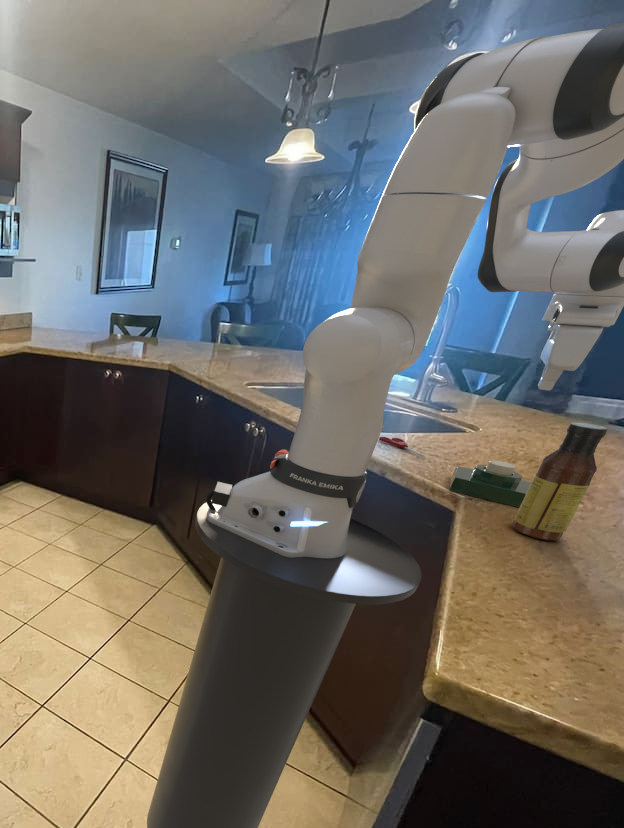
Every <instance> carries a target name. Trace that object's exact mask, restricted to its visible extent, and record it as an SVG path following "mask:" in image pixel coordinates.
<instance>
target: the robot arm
mask: <svg viewBox="0 0 624 828" xmlns="http://www.w3.org/2000/svg"><path fill="white" fill-rule="evenodd" d="M413 124H414V125H413V129H414V132H413V133H412V135H411V136H410V139H409V140H408V142H407V143H406V145H405V147H404V149H403V151H402V152H401V154H400V156H399V158H398V160H397V162H396V163H395V166H394V168H393V170H392V172H391V175H390V177H389V179H388V180H387V184H386V185H385V188H384V190H383V193H382V195H381V197H380V199H379V202H378V205H377V208H376V210H375V213H374V215H373V218H372V220H371V222H370V225H369V228H368V231H367V233H366V235H365V238H364V240H363V243H362V245H361V248H360V250H359V252H358V255H357V260H356V267H357V269H356V278H355V283H354V289H353V293H352V298H351V302H350V305H349V308H347V309H344V310H341V311H339V312H337V313H334V314H333V315H331V316H329V317H328V318H326V319H325V320H324V321H322V322H321V323H319V324H318V325H317V326H316V327H315V328H314V329H312V330H311V332H310V333H309V335H308V336H307V338H306V339H305V342H304V345H303V349H302V360H303V361H302V362H303V364H304V366H305V372H304V373H305V374H304V382H303V392H302V394H303V395H302V403H301V409H300V414H299V418H298V421H297V424H296V428H295V431H294V433H293V436H292V440H291V443H290V446H289V450H287V449H280V450H278V451H277V452H276V453H275V454H274V457H272V460H271V462H270V466H269V471H267V472H264V473H260V474H257V475H254V476H251V477H248V478H245V479H242V480H240V481H238V482H237V483H235V484H234V485H233V484H230V483H225V482H220V481H217V482H216V485H215V488H214V489H212V490H211V491H209V492H208V494H207V495H206V496H205V497H206V498H205V501H206V502H207V505H208V506H209V509H208V512H207V515H206V516H207V519H208V521H209V522H211V523H213V524H215V525H217V526H219V527H221V528H224V529H226V530H228V531H230V532H232V533H235V534H237V535H239V536H241V537H243V538H245V539H248V540H250V541H252V542H254V543H256V544H259V545H261V546H263V547H265V548H267V549H270V550H272V551H274V552H276V553H278V554H280V555H283V556H285V557H290V558H296V557H314V558H337V557H341V556H343V555H345V554H346V552H347V536H348V529H349V523H350V518H351V519H352V514H353V509H354V507H355V506H356V505H357V503H359V500H360V498H361V496H362V494H363V491H364V489H365V486H366V483H367V478H368V472H367V469H368V466H369V464H370V461H371V459H372V456H373V455H374V451H375V449H376V446H377V444H378V441H379V437H381V434H382V431H383V428H384V415H385V408H386V405H387V399H388V395H389V390H390V387H391V383H392V380H393V378H394V376H396V375H398V374H401V373H402V372H405V370H407V369H409V368H410V367H411V366H413V365H414V364H415V363H416V361H418V359H419V358H420V357H421V355H422V353H423V352H424V350H425V348H426V346H427V342H428V340H429V337H430V335H431V332H432V329H433V328H434V325H435V322H436V319H437V317H438V314H439V312H440V309H441V306H442V303H443V300H444V297H445V295H446V292H447V288H448V285H449V283H450V279H451V276H452V275H453V271H454V269H455V267H456V264H457V262H458V261H459V258H460V255H461V254H462V252H463V249H464V247H465V246H466V243H467V241H468V239H469V237H470V235H471V233H472V231H473V229H474V227H475V225H476V223H477V220H478V219H479V216H480V214H481V212H482V210H483V208H484V206H485V204H486V202H487V199H488V198H489V196H490V194H491V198H490V204H489V209H488V216H487V223H486V231H485V232H486V233H485V238H484V248H483V252H482V254H481V259H480V261H479V265H478V269H477V279H478V281H479V283H480V284H481V285H482V287H484V289H486V290H487V291H488V292H490V293H514V292H515V293H516V292H533V293H553V295H552V297H551V299H550V302H549V303H548V306H547V307H546V310H545V312H544V315H543V317H542V318H541V321H543V322H548V323H549V325H548V327H547V330H546V331H547V332H550V335H549V337H548V339H547V340H546V343H545V344H544V347H543V349H542V350H541V353H540V356H539V359H540V360H541V361H542V362H543V364H544V367H543V370H542V374H541V376H540V379H539V381H538V382H537V383H538V384H537V387H538V389H539V391H540V390H541V391H551V390H553V388H554V387H555V384H556V383H557V381H558V380H559V378H560V377H561V376H562V374H563V372H564V371H570V372H574V371H576V370H577V369H578V368H579V367H580V366H581V365H582V363H583V362H584V361H585V359H586V357H587V356H588V355H589V353H590V352H591V350H592V349H593V347H594V345H595V344H596V342H597V341H598V339H599V338H600V336H601V334H602V332H603V330H604V328H609V327H611V326H614V325H615V324H616V322H617V320H618V318H619V316H620V314H621V313H622V310H623V308H624V209H622V208H621V209H613V210H610V211H605V212H602V213H600V214H598V215H596V217H594V218H593V220H592V222H591V223H590V224H589V226H588V227H587V229H583V230H569V231H567V230H566V231H537V230H532V229H529V228H528V227H527V225H528V221H529V215H530V211H531V205H533V204H536V203H538V202H540V201H544V200H547V199H550V198H554V197H558V196H561V195H564V194H568V193H571V192H573V191H576V190H578V189H581V188H583V187H584V186H586V185H589V184H591V183H592V182H595V181H596V180H598V179H600V178H601V177H603V176H604V175H606V174H607V173H609V172H610V171H611V170H612V169H614V168H616V167H617V166H618V165H619V164H620V163H621V162H622V161H624V22H619V23H618V22H617V23H612V24H609V25H607V26H605V27H604V28H596V29H587V30H581V31H574V32H568V33H563V34H557V35H552V36H551V35H550V36H537V37H533V38H530V39H526V40H522V41H519V42H516V43H515V42H514V43H512V44H508V45H505V46H502V47H499V48H496V49H493V50H490V51H488V52H477V53H474V54H471V55H468V56H466V57H463V58H461V59H459V60H457V61H455V62H453V63H451V64H449V65H448V66H445V68H443V69H442V70H441V71H440V72H439V73H438V74H437V75H436V76H435V77H434V79H433V80H432V81H431V82H430V83H429V84H428V86H427V87H426V88H425V90H424V91H423V93H422V95H421V97H420V99H419V101H418V104H417V106H416V109H415V113H414V120H413ZM510 147H518V148H519V154H518V158H517V159H515V160H513V161H511V162H510V163H508V164H507V166H506V167H505V168H504V169H503V170H502V172H501V173H500V171H501V168H502V165H503V162H504V159H505V157H506V153H507V151H508V148H510ZM499 173H500V175H499ZM498 175H499V177H498ZM492 189H493V190H492ZM491 191H492V193H491ZM211 500H212V501H211ZM206 502H205V503H206Z"/></svg>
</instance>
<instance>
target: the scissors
mask: <svg viewBox="0 0 624 828" xmlns="http://www.w3.org/2000/svg"><path fill="white" fill-rule="evenodd" d="M378 441H381V442H383V443H386V444H389V445H392V446H396V447H398V448H401V449H405V450H407V451H410V452H412V453H414V454H416V455H418V456H420V457H424V455H423V454H422V453H420V452H418V451H416V450H414V449H412V448H410V447H409V445H408V444H407V442H406V441H405V440H404V439H402V438H400V437H392V438H390V437H387V436H379V439H378Z"/></svg>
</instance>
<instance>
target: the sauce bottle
mask: <svg viewBox="0 0 624 828" xmlns="http://www.w3.org/2000/svg"><path fill="white" fill-rule="evenodd" d="M607 432H608V428H607V427H605V426H603V425H602V426H601V425H597V424H592V423H586V422H570V424H569V425H568V426H567V429H566V434H565V437H564V439H563V441H562V443H561V444H560V445H559V447H558V449H556V450H554V451H553V452H551V453H549V454H548V455H546V456H545V457H544V458H543V459H542V462H541V463H540V466H539V467H538V470H537V472H536V473H535V474H534V477H533V478H532V481H531V482H532V483H531V485H530V487H529V489H528V491H527V493H526V495H525V497H524V499H523V502H522V504H521V506H520V508H519V507H518V509H517V511H516V514H515V516H514V518H513V522H512V528H513V529H514V530H515V531H517V532H518V533H519V534H520V533H521V534H523V535H525V536H527V537H530V538H534V539H538V540H542V541H553V542H555V541H556V542H557V541H558V540H560V539H561V538H562V536H563V535H564V533H565V532H566V531H567V530H568V527H569V525H570V523H571V522H572V520H573V518H574V515H575V514H576V512H577V510H578V508H579V506H580V504H581V502H582V501H583V499H584V497H585V495H586V493H587V492H588V489H589V488H590V485H591V482H592V480H593V477H594V475H595V474H596V472H597V468H598V467H597V465H596V458H595V453H596V450H597V447H598V445H599V443H600V442H601V440H602V439H603V438H604V437H605V436H606V434H607Z"/></svg>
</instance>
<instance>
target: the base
mask: <svg viewBox="0 0 624 828" xmlns="http://www.w3.org/2000/svg"><path fill="white" fill-rule="evenodd" d="M486 466H487V464H476V465H475V467H474V469H473V468H469V467H464V466H460V465H456V466H455V468H454V471H453V473H452V475H451V477H450V482H449V488H448V490H449V491H450V492H455V493H460V494H463V495H466V496H471V497H475V498H479V499H482V500H487V501H492V502H496V503H499V504H503V505H506V506H507V505H508V506H512V507H516V508H518V509H519V508H520V506H521V504H522V502H523V499H524V497H525V495H526V493H527V491H528V489H529V487H530V485H531V483H532V481H529V480H523V474H521V473H519V472H517V471H515V470H514V472H513V474H512V475H511V476H508V475H501V474H497V473H493V472H490V471H487V470H485V468H486Z"/></svg>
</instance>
